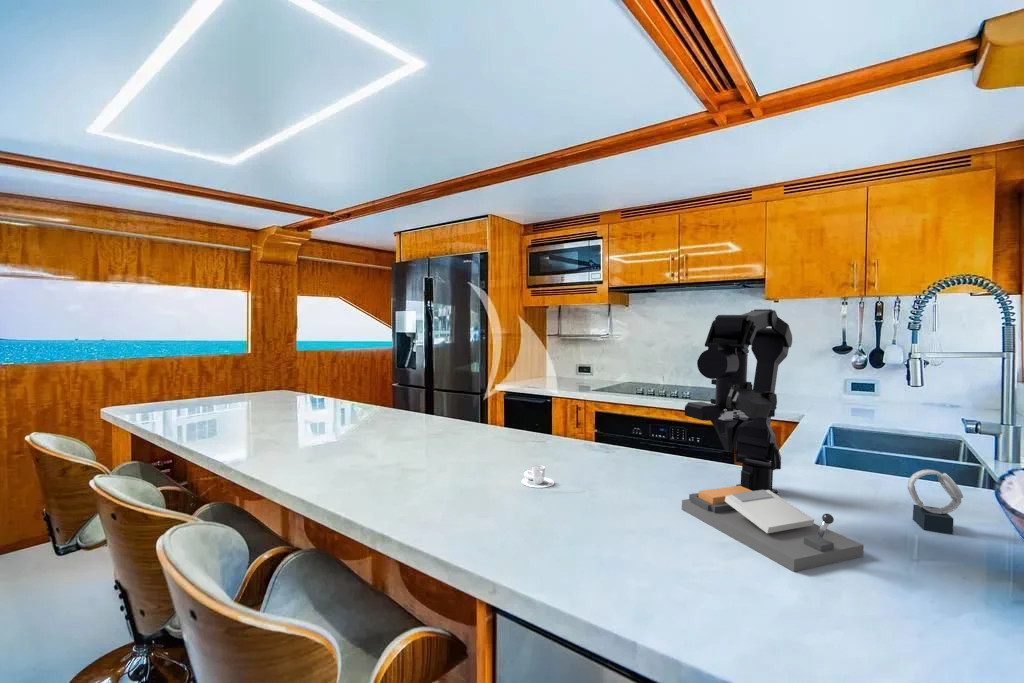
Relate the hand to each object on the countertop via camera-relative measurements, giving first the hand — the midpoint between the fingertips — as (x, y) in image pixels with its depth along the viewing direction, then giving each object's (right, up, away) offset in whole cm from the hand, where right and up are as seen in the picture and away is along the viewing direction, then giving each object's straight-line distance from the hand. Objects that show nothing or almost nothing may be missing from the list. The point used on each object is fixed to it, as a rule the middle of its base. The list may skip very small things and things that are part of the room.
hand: (728, 451), depth 97 cm
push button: (0, -10, 0) cm, 10 cm away
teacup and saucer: (-37, -12, +19) cm, 43 cm away
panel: (+3, -13, -8) cm, 16 cm away
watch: (+38, -14, -5) cm, 41 cm away
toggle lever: (+7, -10, -18) cm, 22 cm away
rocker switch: (+3, -9, -9) cm, 13 cm away
